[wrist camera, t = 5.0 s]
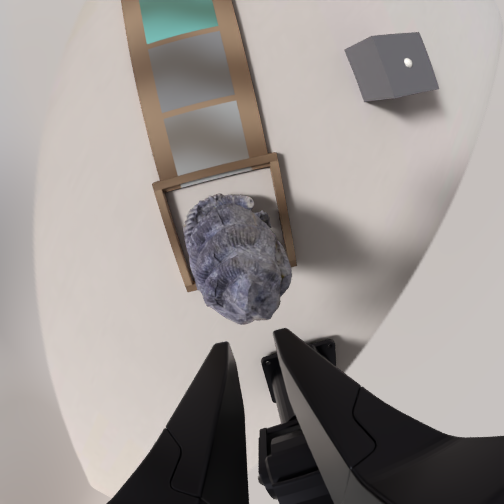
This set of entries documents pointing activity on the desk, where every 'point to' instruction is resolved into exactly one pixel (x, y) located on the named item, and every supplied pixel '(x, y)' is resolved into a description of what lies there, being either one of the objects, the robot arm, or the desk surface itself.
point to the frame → (215, 170)
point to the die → (391, 66)
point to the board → (193, 86)
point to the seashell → (236, 258)
